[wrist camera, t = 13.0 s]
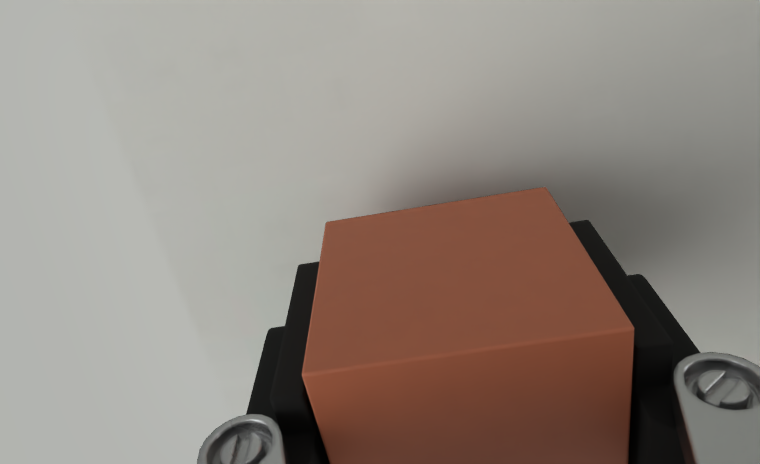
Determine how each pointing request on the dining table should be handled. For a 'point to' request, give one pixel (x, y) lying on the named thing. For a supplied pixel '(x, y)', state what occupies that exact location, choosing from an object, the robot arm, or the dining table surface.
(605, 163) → the dining table surface
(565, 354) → the block
